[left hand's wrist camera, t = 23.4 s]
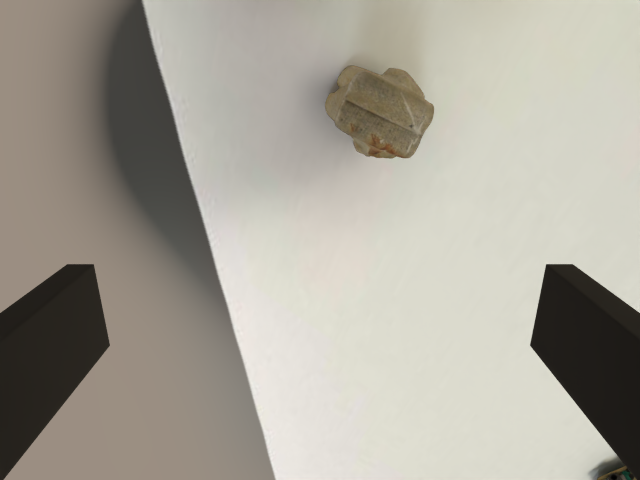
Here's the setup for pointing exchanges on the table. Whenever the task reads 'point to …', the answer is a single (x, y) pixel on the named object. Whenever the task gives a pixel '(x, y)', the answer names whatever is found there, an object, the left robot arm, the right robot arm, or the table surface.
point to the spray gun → (618, 475)
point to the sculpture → (380, 111)
